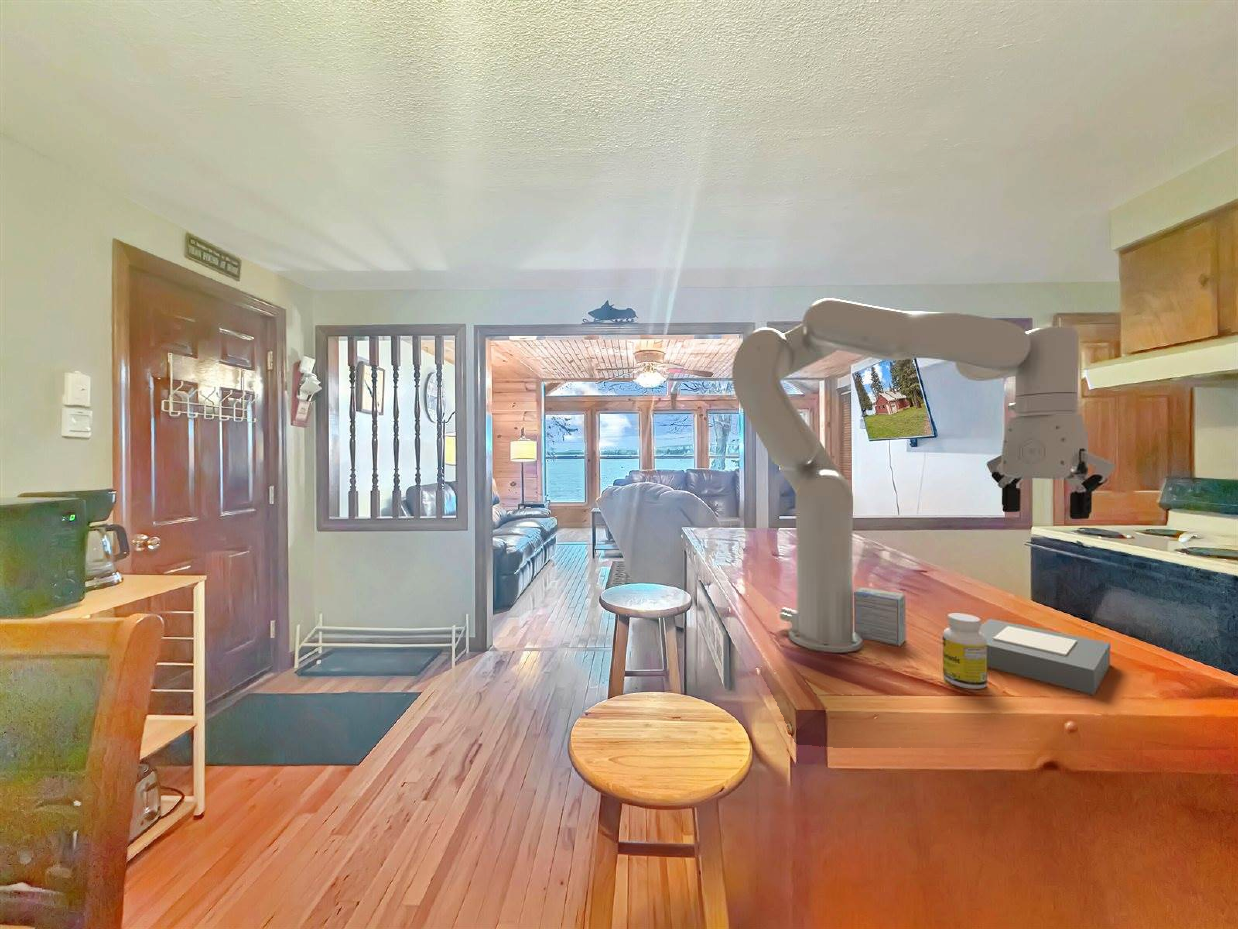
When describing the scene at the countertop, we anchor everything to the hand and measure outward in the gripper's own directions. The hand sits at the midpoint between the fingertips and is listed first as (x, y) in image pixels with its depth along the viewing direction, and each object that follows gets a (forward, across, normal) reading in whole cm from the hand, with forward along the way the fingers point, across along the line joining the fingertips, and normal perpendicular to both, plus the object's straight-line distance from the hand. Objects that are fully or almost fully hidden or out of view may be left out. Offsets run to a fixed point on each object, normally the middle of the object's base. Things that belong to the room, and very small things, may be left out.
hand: (1043, 515), depth 78 cm
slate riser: (+24, -2, +1) cm, 25 cm away
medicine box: (+25, -18, -14) cm, 34 cm away
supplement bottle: (+25, 0, -16) cm, 30 cm away
